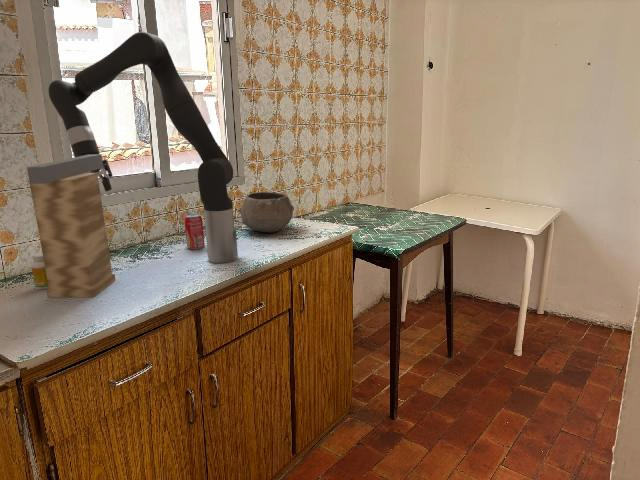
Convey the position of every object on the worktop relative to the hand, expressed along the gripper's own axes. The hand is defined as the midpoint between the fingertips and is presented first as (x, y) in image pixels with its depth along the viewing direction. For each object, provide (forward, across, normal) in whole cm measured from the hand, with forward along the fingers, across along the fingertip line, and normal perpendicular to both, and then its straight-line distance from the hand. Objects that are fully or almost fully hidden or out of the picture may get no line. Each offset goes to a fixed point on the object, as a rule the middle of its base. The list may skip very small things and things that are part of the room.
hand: (99, 191), depth 157 cm
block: (-2, -22, -10) cm, 24 cm away
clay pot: (+29, +50, -30) cm, 65 cm away
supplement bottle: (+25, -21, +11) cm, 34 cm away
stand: (+28, -20, 0) cm, 35 cm away
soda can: (+26, +23, -12) cm, 37 cm away
